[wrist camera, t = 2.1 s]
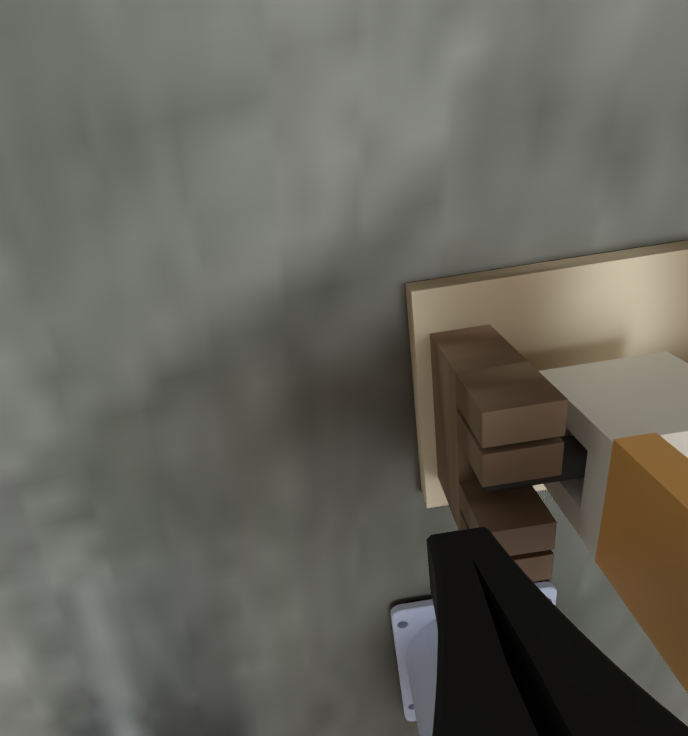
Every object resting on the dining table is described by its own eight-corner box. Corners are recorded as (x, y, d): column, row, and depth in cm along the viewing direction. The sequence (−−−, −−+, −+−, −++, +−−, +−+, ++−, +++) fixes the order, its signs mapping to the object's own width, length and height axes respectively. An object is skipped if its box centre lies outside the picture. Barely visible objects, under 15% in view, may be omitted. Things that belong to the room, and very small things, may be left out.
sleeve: (532, 471, 16) (714, 731, 9) (538, 368, 14) (772, 589, 7) (646, 453, 16) (920, 698, 9) (667, 348, 14) (1031, 548, 7)
